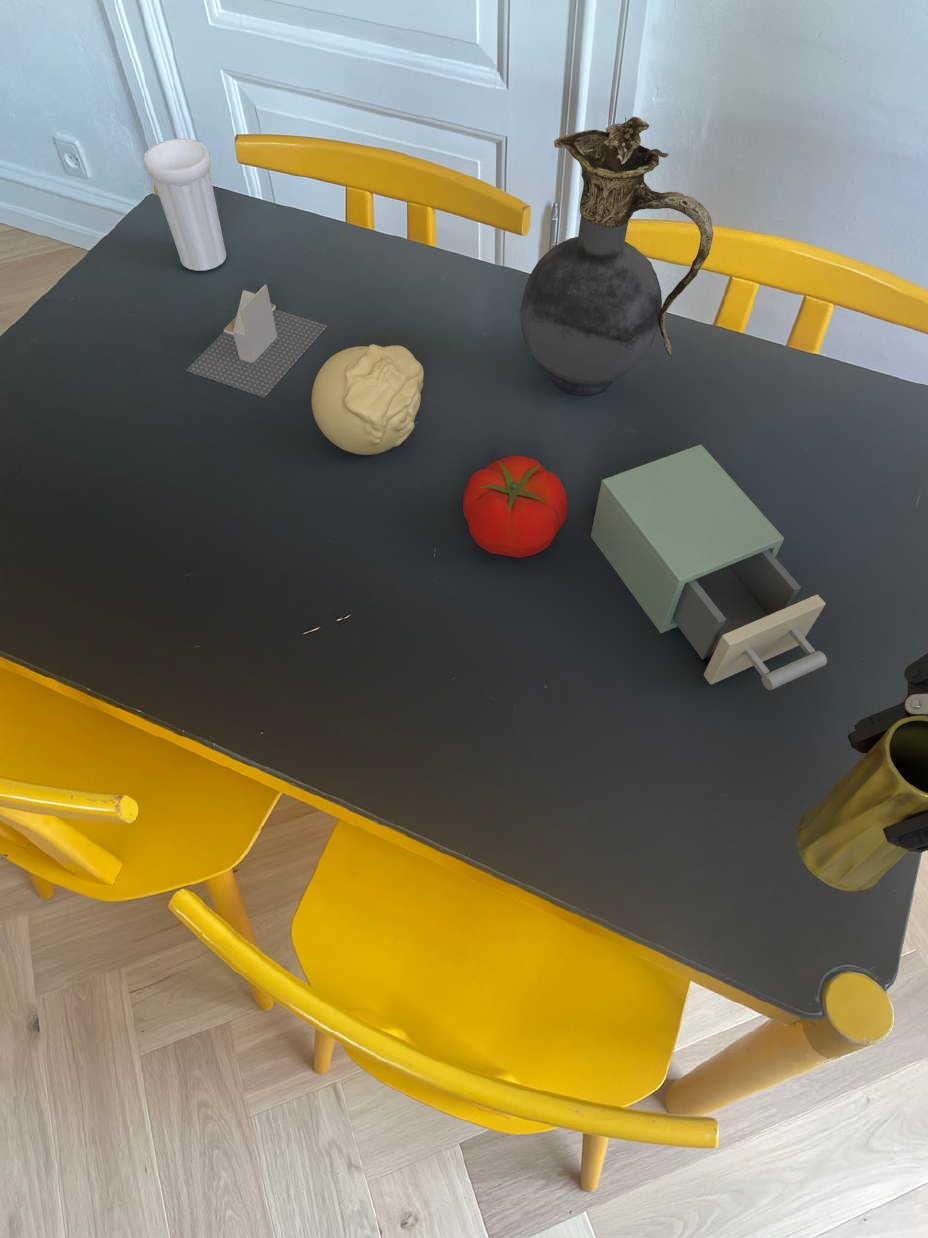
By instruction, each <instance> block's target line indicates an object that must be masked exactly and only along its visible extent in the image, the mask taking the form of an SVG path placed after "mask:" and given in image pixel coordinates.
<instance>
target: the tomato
mask: <svg viewBox="0 0 928 1238" xmlns="http://www.w3.org/2000/svg"><path fill="white" fill-rule="evenodd" d="M462 499H463V502H462V510H463V516H464V518H465V520H466V522H467V525H468V532H469V534H470V536H471V537H472V539H473V540H474V542H475V543H476V544H477V545H478V546H479V547H481V548H482V549H483V550H485V551H486V552H488V553H489V554H494V555H500V556H507V557H512V558H516V559H517V558H518V559H522V558H525V557H531V556H535V555H536V554H538V553H540V552H542V551H544V550H546V549H547V548H548V547H549V546H550V545H551V544H552V542H553V540H554V538H555V537H556V535H557V533H558V532H559V530H560V529H561V528H562V527H563V525H564V524H565V523H566V520H567V517H568V500H567V493H566V491H565V489H564V487H563V484H562V482H561V480H560V479H559V477H558V476H557V475H556V474H554V473H553V472H552V471H549V470H546V469H545V468H544V467H543V466H542V463H540V462H539V461H538V460H536V459H533V458H530V457H527V456H524V455H514V456H513V455H512V456H507V457H504V458H501V459H498V460H496V461H493V462H492V463H491V464H489V465H488V466H487V467H486V468H484V469H480V470H478V471H476V472H473V474H472V475H471V477H470V478H469V479H468V482H467V485H466V486H465V489H464V493H463V498H462Z"/></svg>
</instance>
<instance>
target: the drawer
mask: <svg viewBox="0 0 928 1238" xmlns="http://www.w3.org/2000/svg"><path fill="white" fill-rule="evenodd" d="M801 588H802V587H801V585H800V584H799V583H798V581H796V580H795V578H794V577H793V576H792V575H791V574H790V573H789V571H788V570H787V569H786V568H785V566H784V565H783V564H781V562H780V561H779V560H778V559H777V557H774V555H773V554H772V553H771V552H770V551H769V550H765V551H763V552H760V553H758V554H756V555H753V556H751V557H748V558H746V559H743V560H741V561H738V562H736V563H733V564H731V565H729V566H726V567H724V568H721V569H719V570H716V571H714V572H711V573H709V574H706V575H704V576H701V577H699V578H697V579H694V580H692V581H689V582H687V583H685V585H684V587H683V590H682V593H681V595H680V598H679V601H678V603H677V606H676V609H675V611H674V614H673V617H672V619H673V621H674V622H675V623H676V625H677V626H678V627H677V628H678V629H679V630H680V631H681V633H682V634H683V636H684V637H685V638H686V640H687V641H688V642H689V644H690V645H691V646H692V647H693V649H694V650H695V652H696V653H697V654H698V655H699V658H700V659H701V660H704V659H706V658H709V657H711V658H710V660H709V662H708V664H707V666H706V667H705V668H706V669H705V670H704V673H703V677H704V678H705V679H706V681H707V683H709V685H711V686H712V685H715V684H716V683H718V682H720V681H723V680H725V679H727V678H729V677H731V676H734V675H736V674H739V673H740V672H742V671H745V670H747V669H749V668H751V667H754V669H755V670H756V671H757V672H758V673H759V675H760V676H761V683H762V686H763V687H764V688H765V689H766V690H768V691H772V690H774V689H776V688H779V687H780V686H783V685H785V684H788V683H789V682H792V681H795V680H796V679H798V678H800V677H803V676H805V675H807V674H809V673H812V672H814V671H816V670H818V669H821V668H822V667H824V666H826V665H827V663H828V659H827V656H826V655H825V654H824V653H825V652H822V651H820V650H817V651H816V650H815V648H814V647H813V646H812V645H811V644H810V642H809V641H808V640H807V639H806V637H807V635H808V633H809V632H810V631H811V629H812V627H813V625H814V624H815V622H816V621H817V620H818V618H819V616H820V614H821V612H822V611H823V610H824V608H825V606H826V604H827V603H826V601H824V600H823V599H822V598H821V597H820V595H819V594H815V595H812V596H810V597H808V598H806V599H803V600H801V601H798V602H796V603H794V601H795V599H796V597H797V596H798V594H799V592H800V590H801ZM797 647H800V648H801V650H802V651H803V652H804V653H805V654H806V656H804V657H801V658H799V659H796V660H794V661H792V662H790V663H788V664H785V665H784V666H783V665H782V666H781V667H779V668H777V669H775V670H772V671H770V670H769V668H768V667H767V666H766V665H765V663H764V662H765V661H768V660H770V659H772V658H774V657H776V656H779V655H781V654H783V653H785V652H787V651H790V650H792V649H794V648H797Z"/></svg>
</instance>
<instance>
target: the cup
mask: <svg viewBox="0 0 928 1238" xmlns="http://www.w3.org/2000/svg"><path fill="white" fill-rule="evenodd" d="M211 161H212V159H211V151H210V150H209V149H208V148H207V146H206V145H205V144H204V143H202V142H200V141H198V140H195V139H189V138H171V139H167V140H163V141H160V142H157V143H156V144H154V145H152V146H150V147H149V149H148V150H147V151H145V152H144V158H143V164H144V166H145V168H146V171H147V172H148V174H149V176H150V177H151V178H152V180H153V183H154V185H155V188H156V191H157V194H158V197H159V200H160V203H161V206H162V210H163V212H164V215H165V218H166V221H167V224H168V227H169V230H170V233H171V236H172V238H173V242H174V245H175V247H176V250H177V251H176V252H177V253H178V257H179V261H180V264H181V265H182V266H183V267H184V268H186V269H188V270H191V271H197V272H199V271H202V272H203V271H209V270H212V269H216V268H217V267H220V265H222V264H223V263H224V262H225V261H226V259H227V251H226V245H225V241H224V237H223V232H222V227H221V226H222V225H221V221H220V217H219V212H218V207H217V201H216V197H215V190H214V186H213V181H212V176H211V171H210V170H211V164H212V162H211Z"/></svg>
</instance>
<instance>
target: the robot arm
mask: <svg viewBox="0 0 928 1238" xmlns="http://www.w3.org/2000/svg"><path fill="white" fill-rule="evenodd" d="M903 674H904V679H906V681H907V695H906V696H905V697H906V698H905V699H904V700H903V701H901V702H900V703H899V704H896V705H894V706H891V707H889V708H886V709H884V710H881V711H879V712H877V713H874V714H871V715H868V716H866V717H864V718H862V719H860V720H859V721H858V722H856V724H854V725H853V726H854V731H852V732H850V733H848V734H847V739H848V742H849V744H850V747H851V748H852V749H854V750H855V751H857V752H859V753H861V754H867V753H868V752H869V751H870V750H871V749H872V748H873V747H874V746H875V744H876V743H877V742H878V741H879V740H880V739H881V738H882V737H883V736H884V734H885V733H886V732H887V730H888V729H889V728H891V727H892V726H893V725H894V724H895V723H896V722H897V721H899V720H901V719H903V718H907V717H912V716H928V652H927V653H925V654H923V655H922V656H921V657H919V658H918V659H916V660H914V661H913V662H912V663H910V664H909V665H907V666H906V667H905V668H904V671H903ZM883 832H884V834H885V837H886V839H887V842H889V843H891V844H893V845H895V846H898V847H902V848H904V849H906V850H908V851H907V852H911V853H924V852H927V851H928V813H926V814H923V815H920V816H917V817H914V818H911V819H908V820H905V821H902V822H899V823H896V824H893V825H890V826H887V827H885V828H884V829H883Z"/></svg>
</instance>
